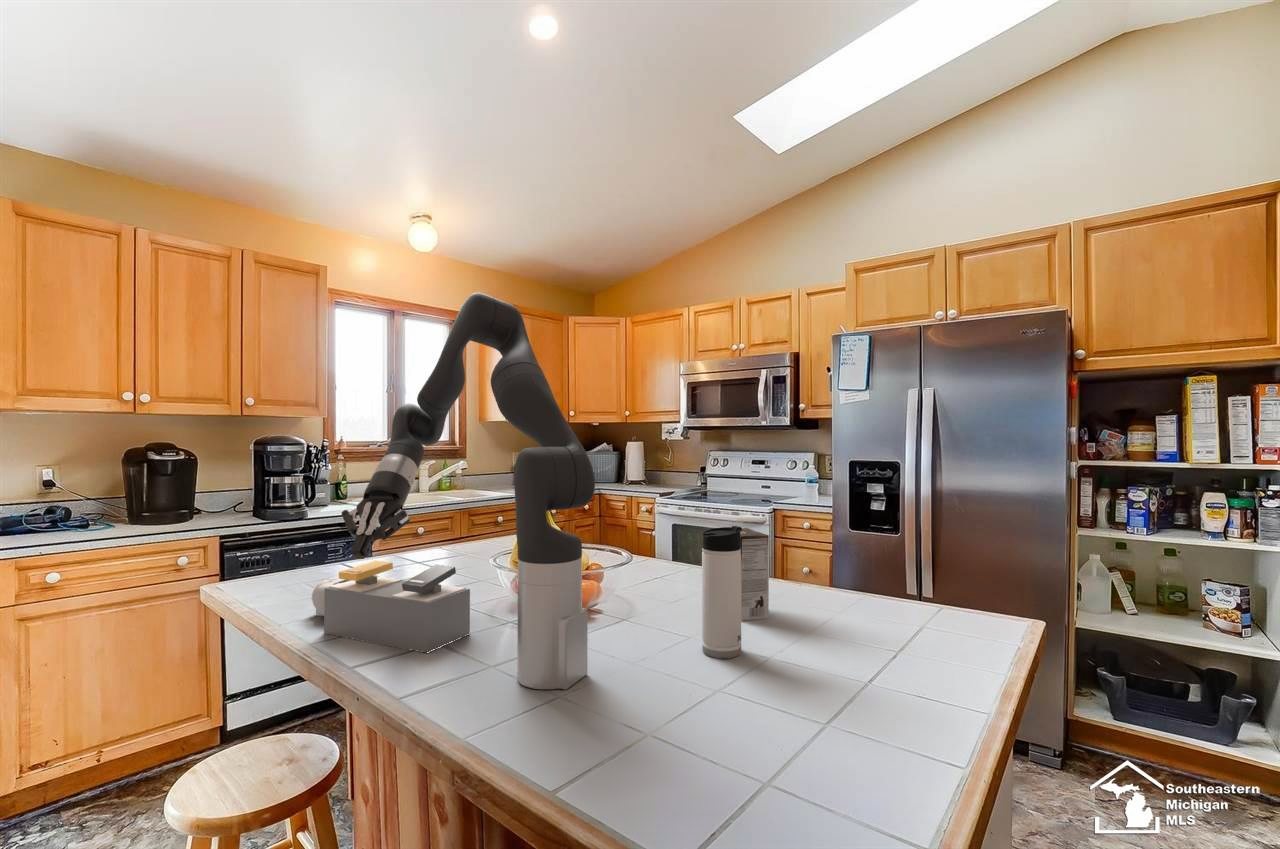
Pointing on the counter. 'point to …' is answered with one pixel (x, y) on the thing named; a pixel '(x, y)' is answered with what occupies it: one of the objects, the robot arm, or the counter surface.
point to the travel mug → (721, 592)
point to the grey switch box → (396, 613)
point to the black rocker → (428, 578)
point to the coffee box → (754, 574)
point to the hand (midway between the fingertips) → (357, 556)
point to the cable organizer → (319, 593)
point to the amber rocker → (365, 570)
